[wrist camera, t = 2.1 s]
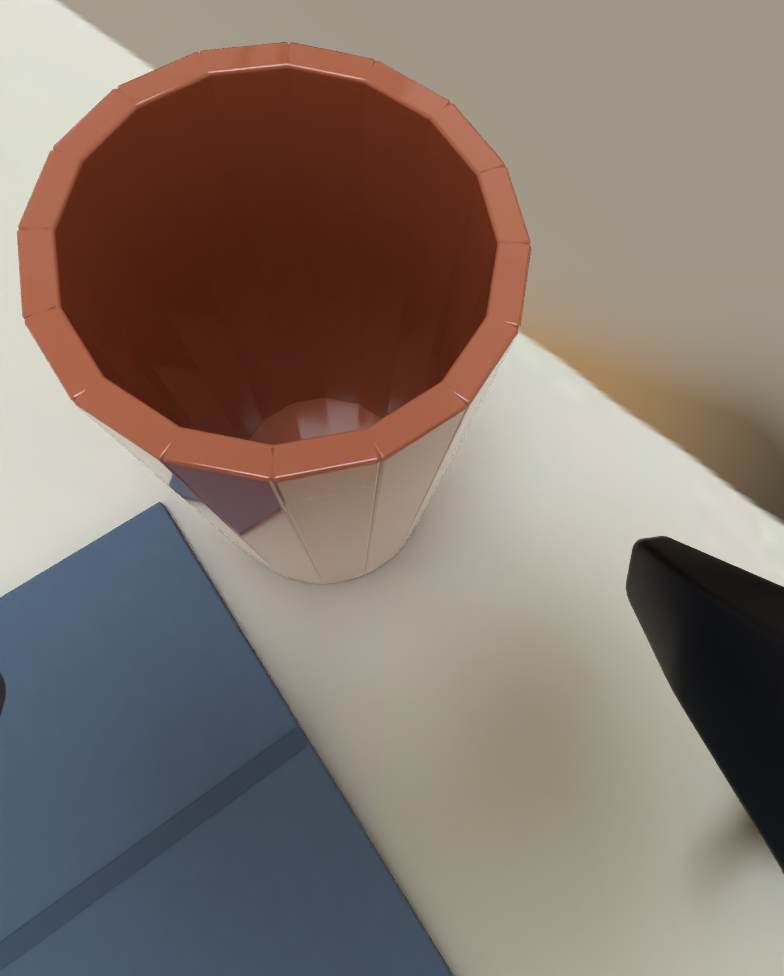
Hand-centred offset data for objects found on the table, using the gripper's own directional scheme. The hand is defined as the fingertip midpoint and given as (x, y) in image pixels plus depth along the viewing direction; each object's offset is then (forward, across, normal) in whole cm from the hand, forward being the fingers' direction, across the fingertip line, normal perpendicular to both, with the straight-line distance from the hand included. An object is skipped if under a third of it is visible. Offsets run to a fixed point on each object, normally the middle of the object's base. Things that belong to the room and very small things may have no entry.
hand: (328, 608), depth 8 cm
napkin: (+4, +7, +12) cm, 15 cm away
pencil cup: (+12, 0, +5) cm, 13 cm away
